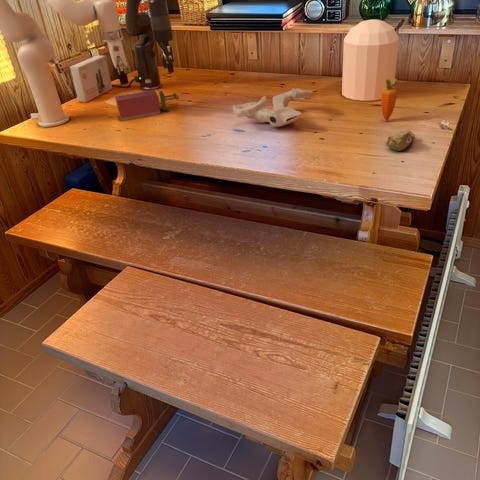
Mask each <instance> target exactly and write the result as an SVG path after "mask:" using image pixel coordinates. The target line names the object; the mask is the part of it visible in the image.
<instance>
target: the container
mask: <svg viewBox="0 0 480 480" xmlns="http://www.w3.org/2000/svg"><path fill="white" fill-rule="evenodd" d="M399 44H400V37H399V36H398V33H397V32H396V30H395V28H394V27H393V26H392V25H391V24H389V23H388V22H387V21H383V20H381V19H376V18H375V19H374V18H373V19H367V20H362V21H360V22H359V23H358V24H356V25H354V26H353V27H352V28H350V29H349V31H348V32H347V33H346V35H345V37H344V38H343V51H342V77H341V79H342V80H341V95H342V96H343V97H344V98H347V99H349V100H354V101H363V102H364V101H365V102H367V101H379V100H381V98H382V91H383V90H384V89H386V88H387V87H386V85H387V83H386V79H390V82H391V84H393V82H394V80H395V79H396V72H397V63H398V62H397V61H398V52H399ZM389 86H390V85H389ZM391 86H392V85H391ZM393 88H394V89H395V85H394V86H393Z"/></svg>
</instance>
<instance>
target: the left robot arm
mask: <svg viewBox="0 0 480 480" xmlns="http://www.w3.org/2000/svg"><path fill="white" fill-rule="evenodd" d="M45 2H46V3H47V4H48V5H49V6H50V7H51V8H52V9H53V10H54V11H55V12H56V13H57V14H59V15H60V17H63V18H64V19H66V20H68V21H69V22H71V23H72V24H74V25H76V26H79V27H87V26H89V25H90V24H92V23H94V22H97V21H98V25H99V29H100V33H101V38H102V41H103V43H106V44H107V48H108V52H109V55H110V59H111V61H112V64H113V66H114V68H115V73H116V78H117V80H119V84H120V86H126V85H129V83H130V81H129V78H128V74H127V72H126V68H125V67H128V63H127V58H126V53H125V50H124V45H123V41H122V40H123V39H124V36H123V31H122V27H121V23H120V19H119V13H118V9H117V5H116V2H115V0H80V1H77V0H45ZM0 33H1V34H2V35H3V37H4V38H5V39H6V40H8V41H9V42H11V43H20V42H23V43H24V44H22V45H21V46H20V47H19V48H18V51H17V60H18V62H19V65H20V67H21V68H22V70H23V72H24V75H25V78H26V80H27V83H28V85H29V88H30V91H31V94H32V97H33V99H34V100H33V101H34V102H35V105H36V106H35V107H36V109H37V111H38V112H36V113H35V112H32V113H30V118H31V120H38V121H37V123H38V126H40V127H42V128H51V127H56V126H60V125H63V124H65V123H67V122H68V121H69V120H70V115H68V114H66V113H64V108H63V106H62V103H61V99H60V96H59V93H58V89H57V86H56V83H55V81H54V77H53V75H52V72H51V70H50V69H49V67H48V64H47V63H49V62H50V61H51V60H52V59H53V58H54V55H55V50H54V46H53V44H52V43H51V41H50V39H49V38H48V37H47V35H46V34H45V32H44V31H43V29H42V28H41V27H40V25H39V24H38V23H37V21H36V20H35V18H33V16H32V15H30V14H29V13H27V12H25V11H15V10H14V9H13V8H12V6H11V5H10V3H9V2H8V1H7V0H0Z"/></svg>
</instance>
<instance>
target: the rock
mask: <svg viewBox="0 0 480 480" xmlns="http://www.w3.org/2000/svg"><path fill="white" fill-rule="evenodd" d="M415 139H416V135H415V134H414V132H412V131H411V130H408V129H407V130H404V131H398V132H396V133H394V134H393V135H392V134H391V135H389V136H388V137H387V143H388V145H387V146H388V147H389V149H391V150H392V151H395V152H404V151H406V150H407V148H409V145H410V144H411V143H412V142H413V141H414V140H415Z"/></svg>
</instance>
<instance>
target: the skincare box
mask: <svg viewBox="0 0 480 480" xmlns="http://www.w3.org/2000/svg"><path fill="white" fill-rule="evenodd" d="M69 70H70V74H71V78H72V82H73V86H74V90H75V94H76V98H77V102H81V103H82V102H84V103H87V102H89V101H91V100H93V99H95V98H97V97H100V96H101V95H103V94H105V93H107V92H108V91H110V90H112V89H113V86H112V85H113V84H112V81H111V76H110V72H109V71H110V70H109V66H108V62H107V57H106V55H100V54H99V55H95V56H92V57H90V58H87V59H85V60H83V61H80V62H78V63H75V64H73V65H71V66H69Z"/></svg>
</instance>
